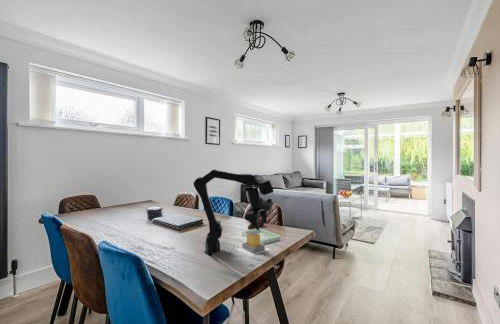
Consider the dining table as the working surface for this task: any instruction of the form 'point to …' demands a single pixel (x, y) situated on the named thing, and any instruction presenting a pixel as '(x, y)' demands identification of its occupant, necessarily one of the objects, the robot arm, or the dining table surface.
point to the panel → (252, 249)
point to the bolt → (258, 223)
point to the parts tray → (274, 236)
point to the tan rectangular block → (253, 239)
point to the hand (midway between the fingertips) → (262, 226)
